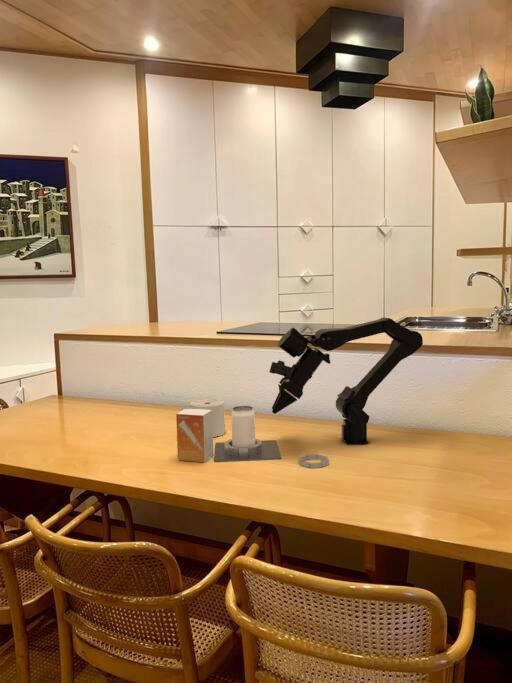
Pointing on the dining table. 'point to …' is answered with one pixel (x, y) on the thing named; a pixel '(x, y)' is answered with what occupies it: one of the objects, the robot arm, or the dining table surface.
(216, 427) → the toilet tissue
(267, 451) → the ring seat
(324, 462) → the ring
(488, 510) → the dining table surface
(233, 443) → the can
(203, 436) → the small box
